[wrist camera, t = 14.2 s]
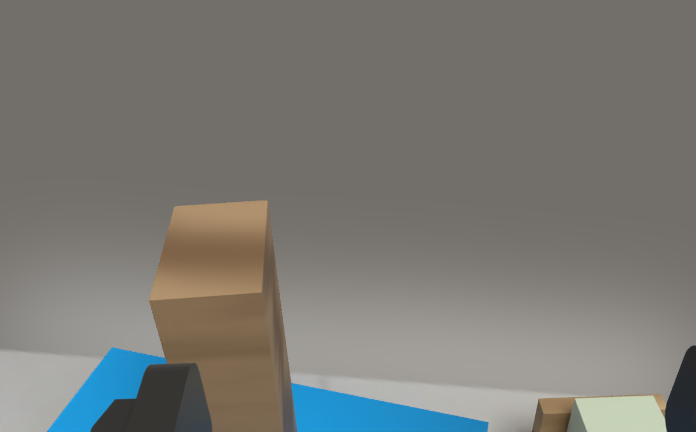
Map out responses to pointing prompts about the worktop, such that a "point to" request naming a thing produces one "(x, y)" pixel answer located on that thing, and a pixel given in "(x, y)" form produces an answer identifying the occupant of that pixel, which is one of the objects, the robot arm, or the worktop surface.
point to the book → (309, 403)
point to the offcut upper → (616, 415)
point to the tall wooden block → (226, 313)
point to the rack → (567, 412)
